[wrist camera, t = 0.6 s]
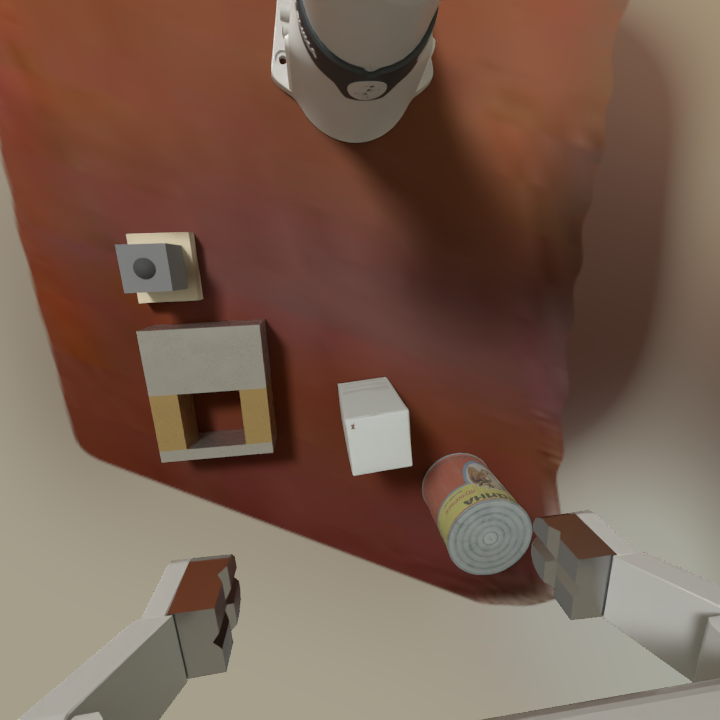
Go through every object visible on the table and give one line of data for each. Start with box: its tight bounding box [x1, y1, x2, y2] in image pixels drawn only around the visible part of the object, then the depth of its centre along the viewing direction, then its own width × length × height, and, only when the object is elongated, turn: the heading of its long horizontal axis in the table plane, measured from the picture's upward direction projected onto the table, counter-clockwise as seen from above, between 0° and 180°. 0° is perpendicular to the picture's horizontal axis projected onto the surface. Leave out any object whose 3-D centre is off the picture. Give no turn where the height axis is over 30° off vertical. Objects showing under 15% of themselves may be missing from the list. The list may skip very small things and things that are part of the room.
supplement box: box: [338, 377, 412, 476], centre depth 48 cm, size 7×7×13 cm
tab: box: [126, 232, 203, 303], centre depth 45 cm, size 8×7×2 cm
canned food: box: [422, 453, 532, 575], centre depth 53 cm, size 11×11×12 cm
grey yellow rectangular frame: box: [136, 319, 277, 462], centre depth 48 cm, size 17×14×5 cm
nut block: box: [115, 243, 188, 293], centre depth 42 cm, size 5×5×5 cm
